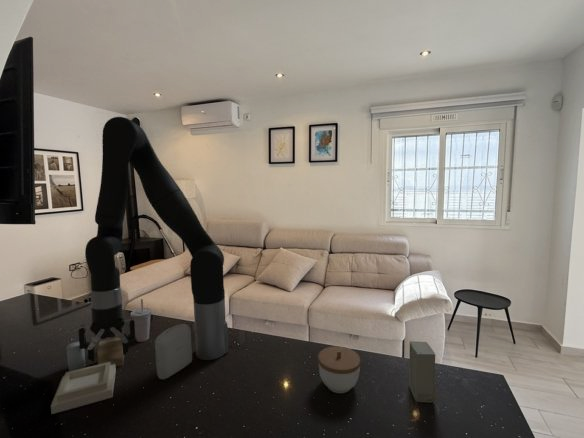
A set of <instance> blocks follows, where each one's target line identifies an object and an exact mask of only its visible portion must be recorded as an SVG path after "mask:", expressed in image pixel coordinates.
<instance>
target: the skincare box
mask: <svg viewBox="0 0 584 438" xmlns="http://www.w3.org/2000/svg"><path fill="white" fill-rule="evenodd" d="M408 368H409V371H408V373H409V374H408V375H409V376H408V384H409V385H408V387H409V389H410V392H411V393H412V396H413V398H414V400H415V402H416V403H428V404H429V403H430V404H431V403H432V404H433V403H435V379H436V373H435V372H436V353H435V351H434V350H433V349H432V348H431V346H430V345H429V343H428V342H427V341H414V340H413V341H409V364H408Z"/></svg>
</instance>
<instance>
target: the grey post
mask: <svg viewBox="0 0 584 438" xmlns="http://www.w3.org/2000/svg"><path fill="white" fill-rule="evenodd" d="M85 355H86V354H85V349H80V345H79V341H74V342H70V343H69V344H67V345H66V356H67V366H68V367H67V368H68V372H69V371H73V370H77V369H82V368H86V356H85Z"/></svg>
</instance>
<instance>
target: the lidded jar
mask: <svg viewBox="0 0 584 438" xmlns="http://www.w3.org/2000/svg"><path fill="white" fill-rule="evenodd" d="M317 362H318V372H319V376H320V378H321V381H322V382H323V384H324V385H325V386H326V387H327V388H328V390H329V391H331V392H333V393H335V394H345V393H347V392H350V390H351V389H352V388H354V387H355V386H356V384H357V382H358V380H359V377H360V369H361V357H360V355H359V354H358V353H357V352H356V351H354V350H353V349H351V348H348V347H345V346H330V347H329V346H328V347H325V348H324V349H322V350H320V352H319V353H318V355H317Z"/></svg>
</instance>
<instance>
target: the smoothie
mask: <svg viewBox="0 0 584 438" xmlns="http://www.w3.org/2000/svg"><path fill="white" fill-rule="evenodd" d="M140 304H141V306H140V308H138V309H135V310H132V311H131V312H130V319H131V318H134V319H135V339H136V341H137V342H139V343H143V342H146V341H147V340H149V338H150V330H151V329H150V326H151V315H152V313H153V312H152V308H148V307H144V300H143V298H141V299H140Z"/></svg>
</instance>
